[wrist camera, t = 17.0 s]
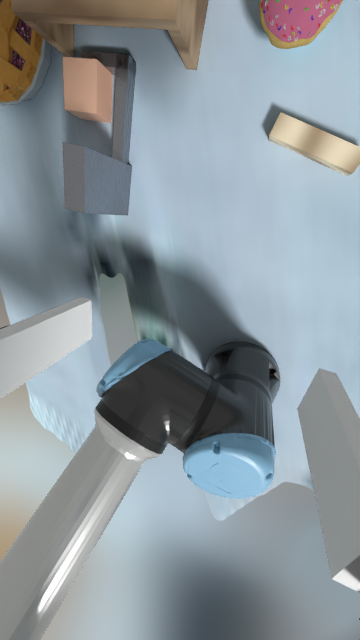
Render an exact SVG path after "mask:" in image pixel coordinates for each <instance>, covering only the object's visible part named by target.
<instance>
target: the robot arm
mask: <svg viewBox="0 0 360 640" xmlns="http://www.w3.org/2000/svg"><path fill="white" fill-rule="evenodd" d="M91 338H92V303H91V300H89V299H86V298H83V297H80V298H77V299H75V300H72V301H70V302H67V303H65V304H62V305H60V306H57V307H55V308H52V309H50V310H47V311H45V312H42V313H40V314H37V315H35V316H32V317H30V318H27V319H25V320H22V321H20V322H17V323H15V324H12V325H9V326H5V327H2V328H0V399H2V398H3V397H5V396H6V395H7V394H9V393H11V392H12V391H14V390H15V389H17V388H18V387H19V386H21V385H22V384H24V383H26V382H27V381H29V380H30V379H32V378H33V377H35V376H36V375H38V374H39V373H41V372H42V371H43V370H45V369H46V368H48V367H49V366H51V365H52V364H54V363H55V362H57V361H58V360H60V359H61V358H63V357H64V356H66V355H67V354H69V353H70V352H72V351H73V350H75V349H76V348H78V347H79V346H81V345H82V344H84V343H85V342H87V341H88V340H90V339H91ZM279 387H280V373H279V368H278V365H277V363H276V361H275V360H274V358H273V357H272V356H271V355H270V354H269V353H268V352H267V351H265V350H264V349H262V348H260V347H258V346H256V345H254V344H250V343H245V342H232V343H228V344H225V345H222V346H220V347H219V348H217V349H216V350H215V351H214V352H213V353H212V354H211V356H210V357H209V360H208V362H207V365H206V369H205V372H204V371H203V370H201V369H200V368H198V367H197V366H195V365H194V364H192V363H191V362H189V361H188V360H186V359H185V358H183V357H182V356H180V355H179V354H177V353H176V352H174V351H173V349H172V348H168V347H166V346H164V345H163V344H161V343H159V342H158V341H156V340H154V339H143V340H141V341H139V342H137V343H136V344H134V345H133V346H132V347H131V348H129V349H128V350H127V351H126V352H125V353H124V354H123V355H122V356H121V357H120V358H119V359H118V360H117V361H116V362H115V363H114V364H113V365H112V366H111V367H110V368H109V370H108V371H107V372H106V373H105V375H104V376H103V379H102V380H101V381H100V382H99V384H98V386H97V393H98V395H99V396H100V397H102V399H101V401H100V402H99V404H98V405H97V406H96V408H95V409H94V413H95V421H96V424H95V427H94V429H93V430H92V432H91V433H90V435H89V436H88V437H87V439H86V440H85V442H84V443H83V445H82V446H81V447H80V449H79V450H78V452H77V453H76V455H75V456H74V458H73V459H72V460H71V462H70V463H69V465H68V466H67V467H66V469H65V470H64V472H63V473H62V475H61V476H60V477H59V479H58V480H57V482H56V483H55V485H54V486H53V487H52V489H51V490H50V492H49V493H48V495H47V496H46V497H45V499H44V500H43V502H42V503H41V505H40V506H39V507H38V509H37V510H36V512H35V513H34V515H33V516H32V517H31V519H30V520H29V522H28V523H27V525H26V526H25V527H24V529H23V530H22V532H21V533H20V535H19V536H18V537H17V539H16V540H15V542H14V543H13V544H12V546H11V547H10V549H9V550H8V552H7V553H6V554H5V556H4V557H3V559H2V560H1V562H0V640H41V638H42V636H43V635H44V633H45V631H46V629H47V628H48V626H49V624H50V623H51V621H52V619H53V617H54V616H55V614H56V612H57V611H58V609H59V607H60V605H61V604H62V602H63V600H64V599H65V597H66V595H67V594H68V592H69V590H70V588H71V586H72V585H73V583H74V582H75V579H76V578H77V576H78V575H79V573H80V571H81V570H82V568H83V566H84V564H85V563H86V561H87V559H88V558H89V556H90V554H91V552H92V551H93V549H94V547H95V546H96V544H97V542H98V540H99V539H100V537H101V535H102V534H103V532H104V530H105V529H106V527H107V525H108V523H109V522H110V520H111V518H112V516H113V515H114V513H115V511H116V510H117V508H118V506H119V504H120V503H121V501H122V500H123V497H124V496H125V494H126V493H127V491H128V489H129V488H130V486H131V484H132V482H133V481H134V479H135V477H136V476H137V474H138V472H139V470H140V469H141V467H142V465H143V464H144V462H145V461H146V460H148V459H152V458H156V457H159V456H161V454H162V453H163V451H164V449H165V447H166V446H167V444H168V443H170V444H171V445H173V446H175V447H176V448H177V449H179V450H180V451H181V452H183V453H184V456H183V468H184V471H185V473H186V474H187V476H188V478H189V479H190V480H191V481H192V482H193V483H194V484H195V485H196V486H198V487H200V488H201V489H203V490H205V491H207V492H209V493H211V494H214V495H217V496H221V497H226V498H249V497H253V496H256V495H258V494H260V493H262V492H264V491H265V490H266V489H267V488H268V487H269V486H270V484H271V482H272V480H273V477H274V460H275V456H276V451H275V445H274V431H273V416H272V403H273V401H274V399H275V397H276V395H277V393H278V390H279ZM297 409H298V414H299V419H300V424H301V429H302V434H303V439H304V444H305V449H306V454H307V459H308V464H309V469H310V474H311V479H312V484H313V489H314V494H315V499H316V503H317V508H318V514H319V518H320V523H321V528H322V533H323V538H324V543H325V548H326V553H327V558H328V563H329V568H330V573H331V578H332V579H333V580H335V581H337V582H339V583H341V584H343V585H345V586H347V587H350V588H352V589H354V590H356V591H358V592H360V419H359V417H358V415H357V413H356V411H355V409H354V407H353V405H352V403H351V401H350V399H349V397H348V395H347V393H346V391H345V389H344V387H343V385H342V383H341V382H340V380H339V378H338V376H337V374H336V373H333V372H330V371H327V370H323V369H320V368H319V370H318V371H317V373H316V375H315V377H314V379H313V381H312V383H311V384H310V386H309V388H308V390H307V392H306V394H305V396H304V397H303V399H302V401H301V403H300V405H299V407H298V408H297ZM359 620H360V619H359Z"/></svg>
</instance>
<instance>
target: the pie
mask: <svg viewBox="0 0 360 640" xmlns="http://www.w3.org/2000/svg"><path fill="white" fill-rule="evenodd" d="M51 51H52V45H51V44H50V43H49V42H47V41H46V40H45V39H44V38H43V37H42V36H40V35H39V34H38V33H37V32H36V31H34V30H33V29H32V28H31V27H30V26H28V25H27V24H26V23H25V22H24V21H22V20H21V19H20V18H19V17H18V16H16V15H15V14H14V13H13V12H12V5H11V0H0V105H11V104H19V103H20V102H21V101H24V100H31V99H32V98H33V97H34V95H35V94H36V93H37V92H38V91H39V89H40V88H41V87H42V85H43V82H44V79H45V76H46V73H47V70H48V67H49V65H50V62H51Z"/></svg>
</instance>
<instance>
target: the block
mask: <svg viewBox="0 0 360 640" xmlns="http://www.w3.org/2000/svg"><path fill="white" fill-rule="evenodd" d="M63 79H64V105H65V110H66V111H68V112H70V113H72V114H74V115H75V116H77V117H79V118H81V119H85V120H92V121H99V122H106V123H111V108H112V79H113V74H112V73H111V72H110V71H109V70H107V69H106V68H105V67H104V66H103V65H102V64H101V63H100V62H99V61H98V60H97V59H87V58H73V57H63Z"/></svg>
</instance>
